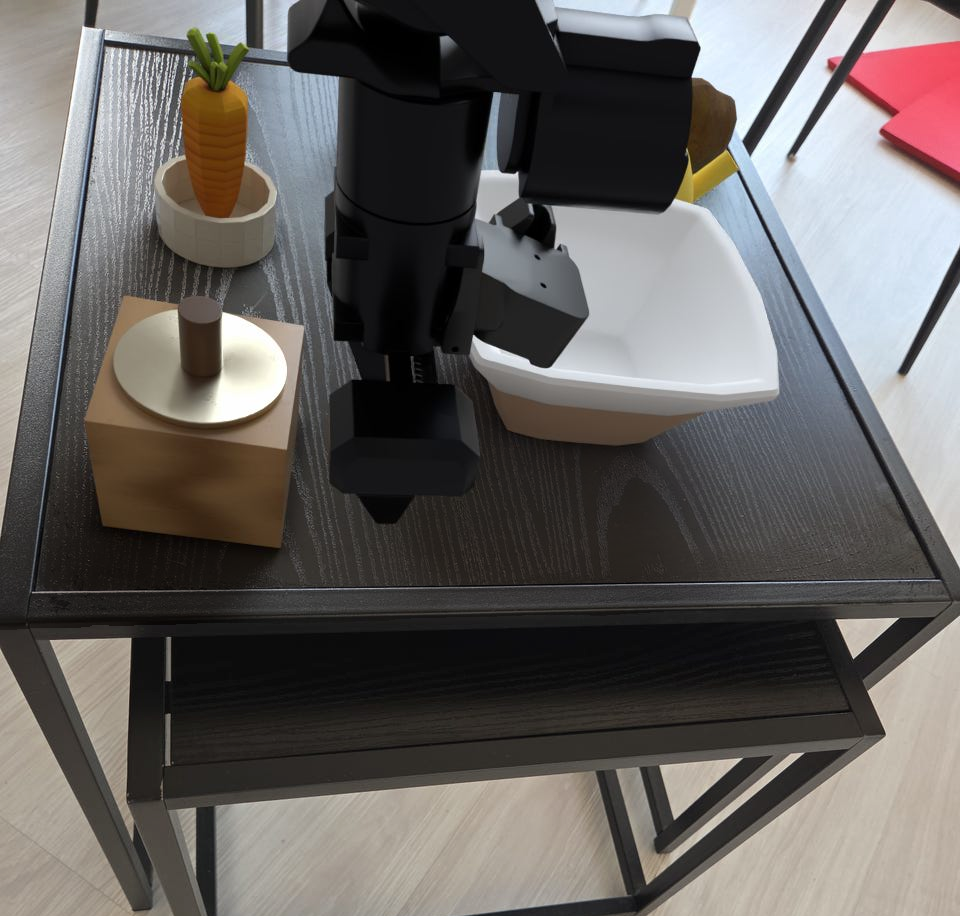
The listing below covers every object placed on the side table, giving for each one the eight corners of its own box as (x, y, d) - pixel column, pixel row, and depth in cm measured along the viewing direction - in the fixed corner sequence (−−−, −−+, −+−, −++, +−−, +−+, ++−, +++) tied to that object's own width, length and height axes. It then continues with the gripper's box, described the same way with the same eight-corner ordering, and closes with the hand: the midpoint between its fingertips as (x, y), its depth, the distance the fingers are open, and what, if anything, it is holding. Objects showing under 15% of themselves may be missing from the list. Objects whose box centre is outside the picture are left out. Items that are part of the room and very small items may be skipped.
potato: (735, 197, 98) (774, 113, 91) (632, 187, 95) (664, 100, 88) (709, 151, 103) (744, 67, 95) (609, 140, 99) (638, 53, 92)
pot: (148, 255, 74) (144, 208, 70) (168, 189, 79) (166, 142, 75) (267, 276, 75) (269, 232, 72) (280, 210, 80) (282, 165, 77)
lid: (97, 414, 52) (87, 353, 48) (132, 302, 57) (125, 240, 54) (277, 440, 54) (280, 383, 50) (294, 329, 59) (298, 271, 56)
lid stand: (102, 526, 59) (83, 420, 51) (136, 404, 65) (123, 294, 58) (280, 548, 61) (287, 450, 53) (297, 428, 67) (304, 325, 60)
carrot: (259, 224, 78) (263, 31, 66) (230, 254, 75) (230, 58, 63) (204, 201, 78) (198, 4, 66) (173, 230, 75) (162, 30, 63)
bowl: (741, 510, 72) (809, 407, 63) (425, 487, 66) (453, 371, 58) (676, 309, 85) (725, 201, 76) (406, 276, 79) (426, 154, 71)
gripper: (642, 349, 34) (550, 597, 47) (565, 83, 44) (507, 348, 57) (334, 331, 32) (326, 596, 45) (326, 57, 42) (322, 337, 55)
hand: (381, 456), depth 51 cm, fingers open, 9 cm apart
